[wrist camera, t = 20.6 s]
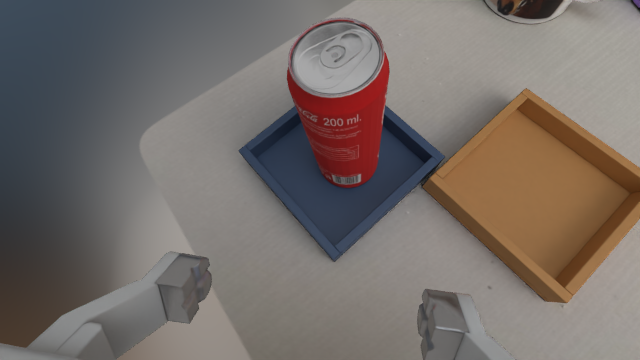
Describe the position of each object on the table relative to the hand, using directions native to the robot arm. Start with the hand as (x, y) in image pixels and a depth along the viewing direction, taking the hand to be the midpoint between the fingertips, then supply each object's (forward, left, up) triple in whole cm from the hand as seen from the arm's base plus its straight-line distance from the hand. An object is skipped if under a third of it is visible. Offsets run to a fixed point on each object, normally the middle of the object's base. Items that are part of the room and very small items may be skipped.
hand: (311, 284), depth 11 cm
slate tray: (+8, +8, -16) cm, 20 cm away
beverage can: (+9, +7, -16) cm, 19 cm away
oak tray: (+19, -6, -16) cm, 26 cm away
